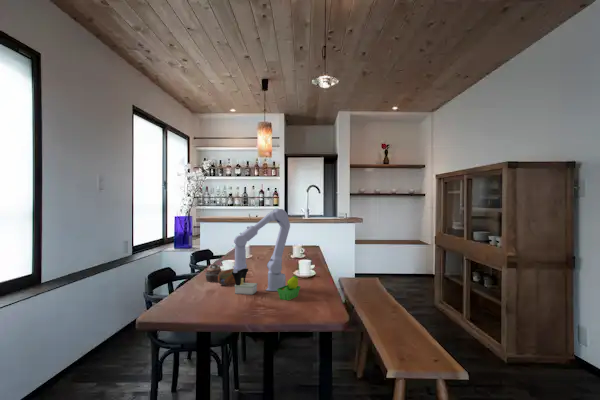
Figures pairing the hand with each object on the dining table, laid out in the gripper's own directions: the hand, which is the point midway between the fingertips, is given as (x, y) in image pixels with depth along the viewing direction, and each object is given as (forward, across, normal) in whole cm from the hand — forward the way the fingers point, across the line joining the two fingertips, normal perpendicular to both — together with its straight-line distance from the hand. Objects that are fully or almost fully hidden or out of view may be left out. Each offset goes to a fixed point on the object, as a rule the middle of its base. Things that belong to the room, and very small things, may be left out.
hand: (240, 283), depth 188 cm
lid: (+1, 0, +3) cm, 3 cm away
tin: (+5, -17, -14) cm, 22 cm away
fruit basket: (+5, +5, +28) cm, 29 cm away
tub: (+4, 0, +3) cm, 6 cm away
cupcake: (+5, -22, -26) cm, 34 cm away
